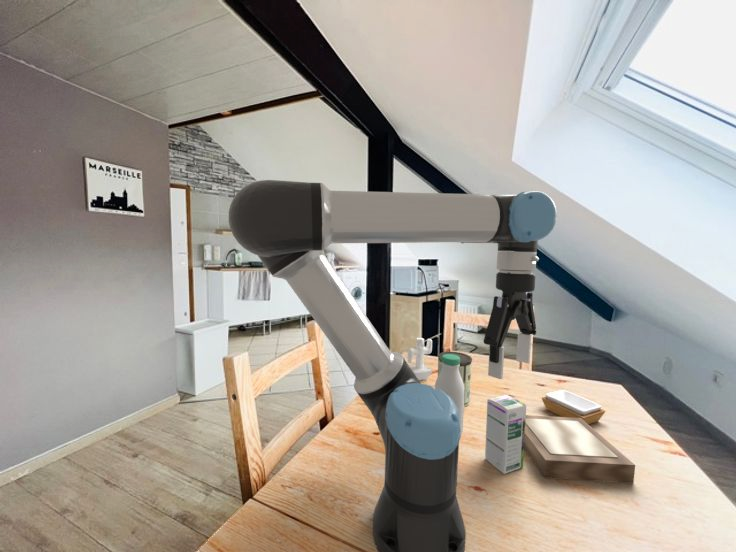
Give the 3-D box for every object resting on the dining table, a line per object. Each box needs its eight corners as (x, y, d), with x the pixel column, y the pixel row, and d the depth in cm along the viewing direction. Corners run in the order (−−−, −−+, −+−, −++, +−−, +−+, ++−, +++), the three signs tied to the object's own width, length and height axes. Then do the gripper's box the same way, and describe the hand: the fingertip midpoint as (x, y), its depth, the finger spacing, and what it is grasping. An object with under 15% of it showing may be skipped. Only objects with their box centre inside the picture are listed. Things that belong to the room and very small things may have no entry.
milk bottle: (464, 440, 78) (468, 363, 76) (432, 436, 79) (435, 360, 78) (461, 423, 85) (464, 352, 84) (432, 420, 87) (435, 350, 85)
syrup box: (504, 475, 66) (508, 409, 65) (483, 458, 71) (487, 397, 70) (523, 468, 68) (527, 404, 67) (501, 451, 74) (505, 393, 72)
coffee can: (435, 390, 105) (437, 350, 104) (467, 394, 103) (469, 352, 102) (436, 406, 95) (438, 361, 94) (472, 409, 93) (474, 364, 92)
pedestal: (544, 477, 66) (545, 459, 65) (510, 428, 83) (511, 413, 83) (633, 483, 65) (635, 464, 64) (579, 432, 82) (580, 417, 82)
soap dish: (604, 423, 88) (606, 406, 87) (582, 431, 84) (584, 412, 83) (561, 403, 99) (562, 387, 98) (540, 408, 95) (541, 392, 94)
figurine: (403, 375, 117) (404, 336, 116) (425, 372, 120) (426, 334, 119) (412, 383, 110) (413, 342, 109) (435, 380, 114) (436, 340, 112)
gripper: (506, 276, 55) (500, 391, 57) (555, 270, 72) (549, 360, 74) (468, 273, 61) (463, 378, 62) (521, 268, 77) (516, 352, 79)
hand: (509, 368), depth 68 cm, fingers open, 13 cm apart
